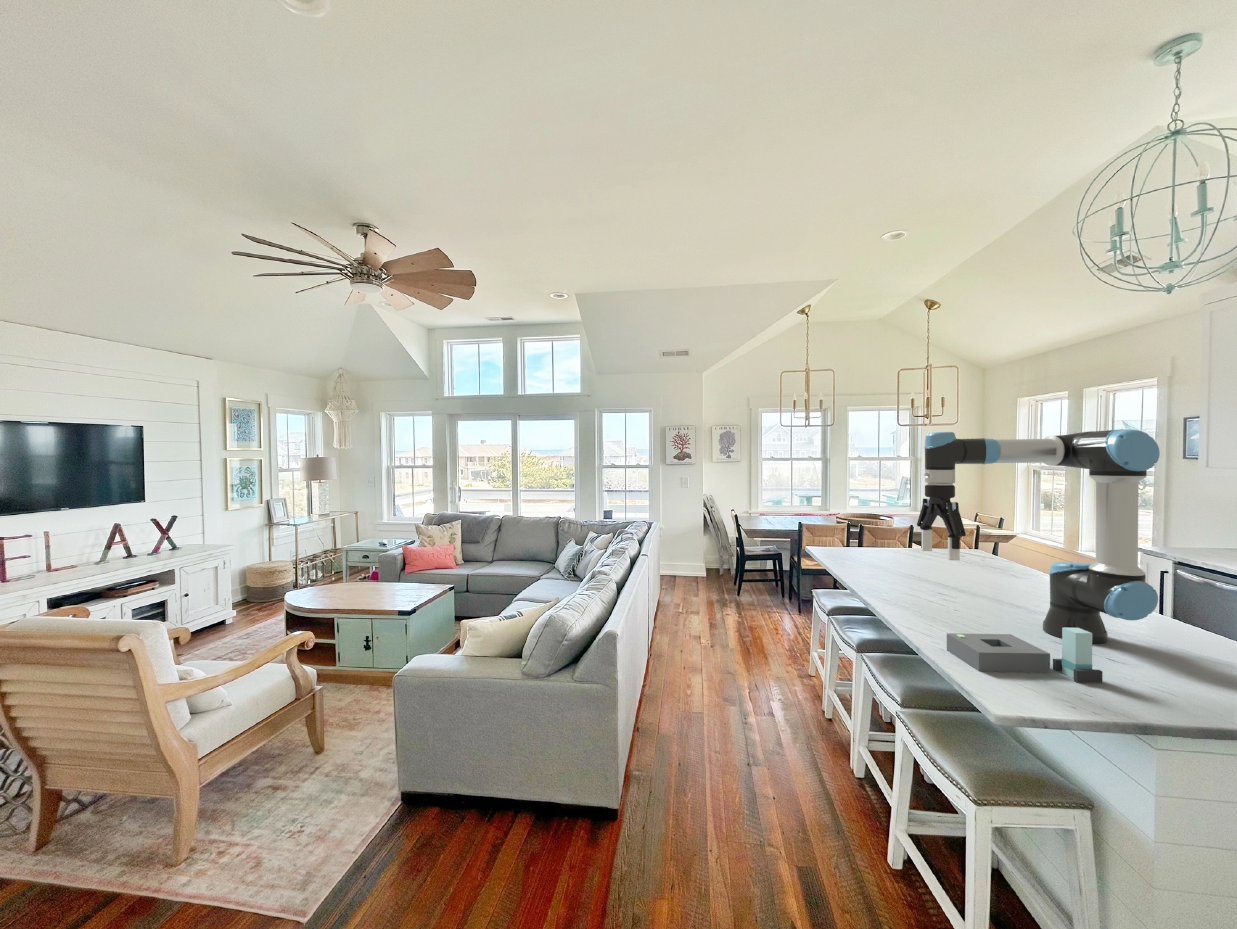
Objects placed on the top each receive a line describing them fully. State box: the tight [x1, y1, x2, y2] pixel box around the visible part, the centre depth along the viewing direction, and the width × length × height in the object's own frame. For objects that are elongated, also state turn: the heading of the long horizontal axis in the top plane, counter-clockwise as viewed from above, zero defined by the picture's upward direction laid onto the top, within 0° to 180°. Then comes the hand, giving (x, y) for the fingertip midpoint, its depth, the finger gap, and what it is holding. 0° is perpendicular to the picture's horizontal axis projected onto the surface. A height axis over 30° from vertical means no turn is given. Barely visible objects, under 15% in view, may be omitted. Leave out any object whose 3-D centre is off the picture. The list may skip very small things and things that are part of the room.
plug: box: [1061, 628, 1093, 680], centre depth 125 cm, size 4×4×12 cm
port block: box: [946, 632, 1051, 673], centre depth 135 cm, size 18×14×5 cm
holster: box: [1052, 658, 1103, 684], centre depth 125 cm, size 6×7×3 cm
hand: (939, 555), depth 144 cm, fingers open, 13 cm apart
